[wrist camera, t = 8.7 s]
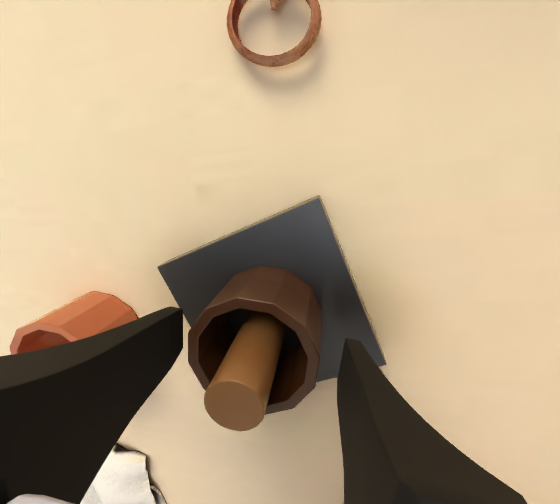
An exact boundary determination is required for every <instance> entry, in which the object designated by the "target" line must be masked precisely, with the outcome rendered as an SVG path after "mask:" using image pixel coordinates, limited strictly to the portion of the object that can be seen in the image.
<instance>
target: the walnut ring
mask: <svg viewBox="0 0 560 504" xmlns="http://www.w3.org/2000/svg"><path fill="white" fill-rule="evenodd" d="M239 308H242V309H247V310H253V311H259V312H265V313H270V314H272V315H273V316H274V317H276V318H277V319H279V320H280V321H281V322H283V323H284V324H285V325H287V326H288V327H290V328H291V329H292V330H294V331H295V332H296V334H297V336H298V338H299V340H300V343H299V344H298V345H297V346H296V347H294V348H290V349H287V350H283V351H281V352H280V356H279V360H278V364H277V368H276V372H275V376H274V380H273V383H272V387H271V391H270V395H269V399H268V403H267V407H266V411H265V415H266V414H271V413H275V412H279V411H284V410H288V409H292V408H294V407H295V406H296V405H297V404H298V403H299V402H300V401H302V400H303V399H304V398H305V397H306V396H307V395H308V394H309V393H310V392H311V391H312V390H313V389H314V387H315V385H316V379H317V373H318V367H319V361H320V347H321V322H322V310H321V308H320V306H319V304H318V301H317V299H316V297H315V295H314V292H313V290H312V288H311V287H310V286H309V285H308V284H307V283H305V282H304V281H303V280H301V279H300V278H299V277H297V276H296V275H295V274H293V273H292V272H290V271H289V270H287V269H281V268H275V267H268V266H261V265H260V266H256V267H253V268H251V269H248V270H246V271H243V272H240V273H238V274H235V275H234V276H233V277H232V278H231V280H230V281H229V282H228V283H227V284H226V285H225V286H224V288H223V289H222V290H221V291H220V292H219V293H218V295H217V296H216V297H215V298H214V299H213V300H212V301H211V303H210V304H209V305H208V306H207V307H206V308H205V310H204V311H203V312H202V314H201V315H200V317H199V318H198V319H197V321H196V322H195V324H194V325H193V326H192V328H191V329H190V331H189V333H188V362H189V364H190V366H191V368H192V370H193V371H194V373H195V375H196V376H197V378H198V380H199V382H200V383H201V385H202V387H203V388H204V389H205V390H207V388H208V386H209V385H210V383H211V381H212V379H213V377H214V375H215V374H216V372H217V370H218V368H219V366H220V364H221V363H222V361H223V359H224V357H225V355H226V353H227V352H228V350H229V348H230V346H231V344H232V342H233V341H234V339H235V337H236V335H237V334H236V332H235V330H234V329H233V327H232V325H231V323H230V321H229V319H228V312H230V311H233V310H236V309H239Z"/></svg>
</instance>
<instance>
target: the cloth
mask: <svg viewBox="0 0 560 504" xmlns="http://www.w3.org/2000/svg"><path fill="white" fill-rule="evenodd" d="M145 460H146V455H144V454H142V453H139V452H137V451H131V450H125V449H123V448H122V447H120V446H119V445H117V444H115V445H114V447H113V449H112V450H111V452H110V454H109V455H108V457H107V458H106V460H105V462H104V463H103V465H102V467H101V468H100V470H99V472H98V473H97V475H96V477H95V478H94V480H93V482H92V484H91V485H90V487H89V489H88V491H87V492H86V494H85V496H84V498H83V499H82V501H81V503H80V504H166V502H165V500H164V498H163V496H162V494H161V492H160V491H159V490H158V489H157V488H155V487H154V486H152V485H150V484H149V479H148V472H147V470H146V469H145Z"/></svg>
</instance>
